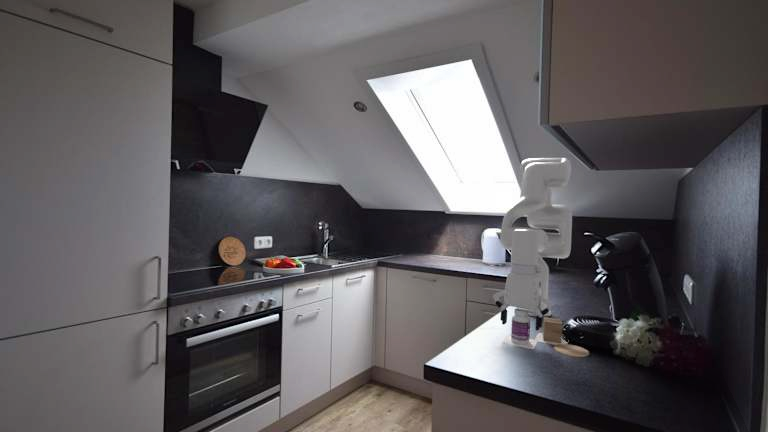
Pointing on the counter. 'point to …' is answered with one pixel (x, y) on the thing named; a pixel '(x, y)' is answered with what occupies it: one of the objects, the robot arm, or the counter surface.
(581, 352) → the cork coaster
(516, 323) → the pill bottle
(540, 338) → the tile block
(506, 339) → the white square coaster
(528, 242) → the robot arm
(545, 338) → the walnut block
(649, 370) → the counter surface
